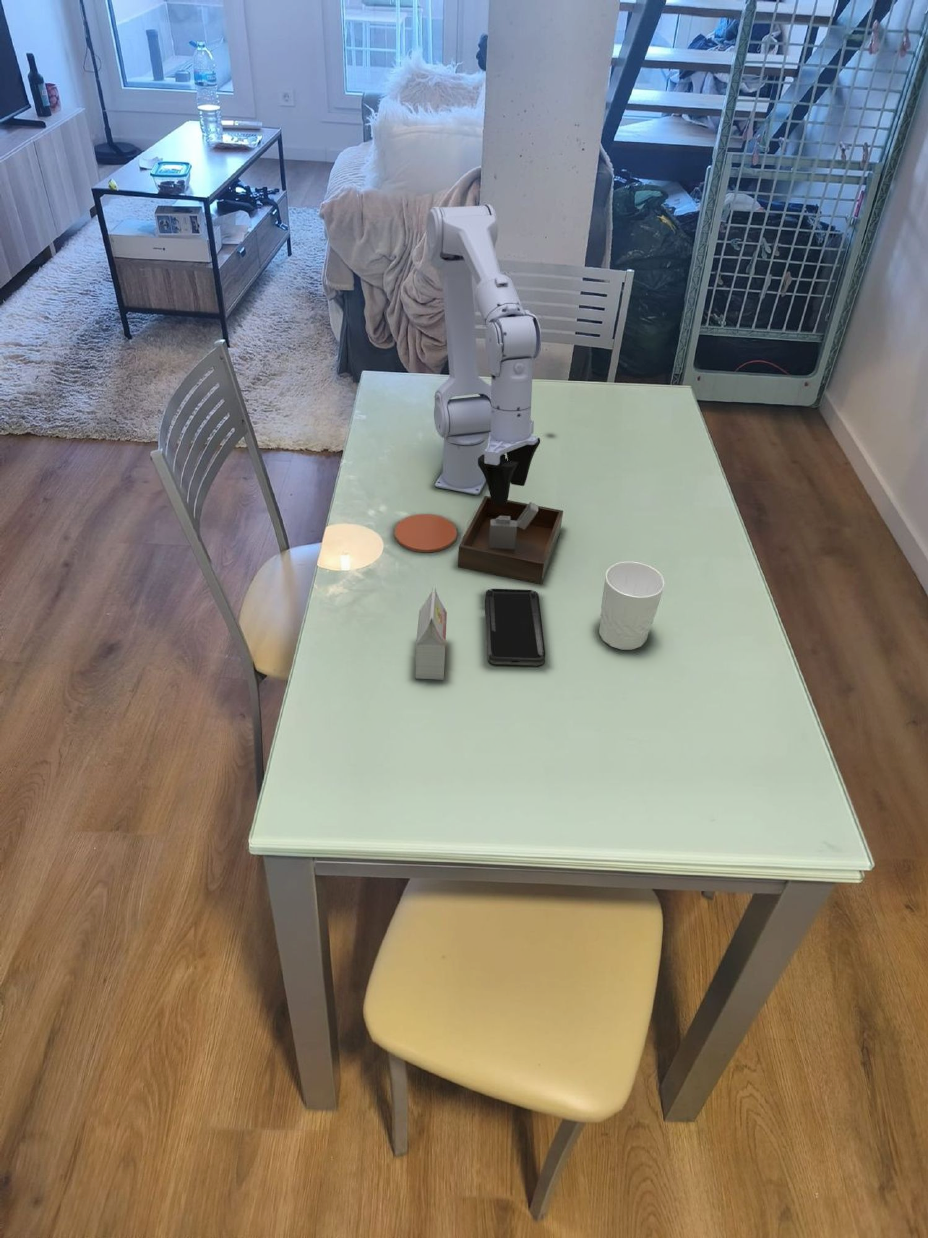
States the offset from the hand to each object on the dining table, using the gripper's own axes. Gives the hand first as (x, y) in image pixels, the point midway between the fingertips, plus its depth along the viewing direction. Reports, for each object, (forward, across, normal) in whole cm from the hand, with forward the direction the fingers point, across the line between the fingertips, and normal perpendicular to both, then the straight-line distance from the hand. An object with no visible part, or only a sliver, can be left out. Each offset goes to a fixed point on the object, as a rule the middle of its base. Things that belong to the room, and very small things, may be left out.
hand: (508, 493), depth 124 cm
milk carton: (+14, -27, 0) cm, 30 cm away
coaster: (+9, -1, +14) cm, 17 cm away
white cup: (+14, -10, -22) cm, 27 cm away
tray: (+10, +2, 0) cm, 11 cm away
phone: (+13, -16, -7) cm, 22 cm away
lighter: (+10, +2, 0) cm, 10 cm away
